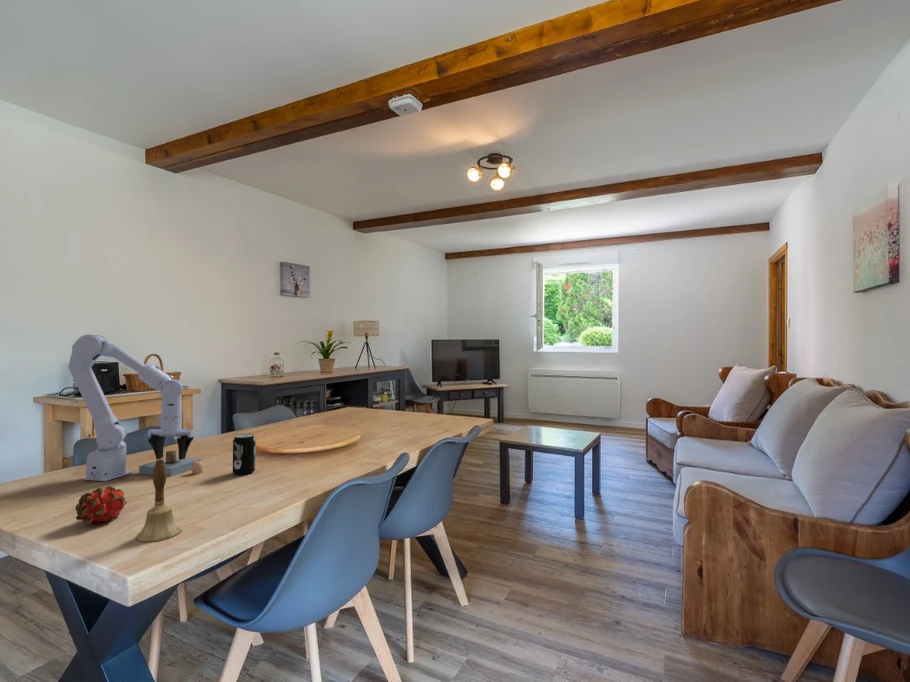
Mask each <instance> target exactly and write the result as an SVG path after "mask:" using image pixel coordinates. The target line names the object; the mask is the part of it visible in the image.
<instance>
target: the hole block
mask: <svg viewBox="0 0 910 682" xmlns="http://www.w3.org/2000/svg"><path fill="white" fill-rule="evenodd" d="M162 459H163V461H164V464H165V467H166V470H167V477H173V476H177V475H180V474H183V473H185V472H186V473H187V472H189V471H192V470H191V469H192V462H196V461H202V459H201V458H192V457H185V459H182V460H179V456H178V457H177V456H176V463H174V464H166V457H165V458H162ZM155 464H156V460H155V461H152V462H148V463H145V464H141V465H139V466H138V469H139V470H138V474H139V475H149V476H153V469H154V466H155Z"/></svg>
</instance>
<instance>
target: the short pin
mask: <svg viewBox="0 0 910 682" xmlns="http://www.w3.org/2000/svg"><path fill="white" fill-rule="evenodd" d="M200 473H201V474H203V461H202V460H201V461H196V462H192V470H191V474H192V475H194V474H196V475H201V474H200Z"/></svg>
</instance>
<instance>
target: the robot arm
mask: <svg viewBox="0 0 910 682" xmlns="http://www.w3.org/2000/svg"><path fill="white" fill-rule="evenodd" d="M100 357H106V358H108V357H109V358H113V359H115V360H117V361H118V362H120V363H122V364H123V365H125V366H127V367H128V368H130V369H131V370H133V371H135V372H136V373H137V374H138V379H139V380H140V381H142V382H143V383H145V384H146V385H147V386H149V387H151V388H152V389H154V390H155V391H159V393H160V395H161V396H162V397H161V398H162V399H161V400H162V401H161V406H160V407H161V408H160V412H161V413H160V418H161V419H160V429H149V430H147V437H149V438H148V439H147V441H148V443H149V444H150V446H151V448H152V449H153V452H154V455H155V458H156V459H155V460H159V459H164V458H163V457H164V447H165V441H166V437H170V438H171V437H172V438H173V437H175V438H176V437H177V438H176V443H177V446H178V447H177V448H178V457H179V460H182V459H185V458H187V457H186V456H187V453H188V450H189V447H190V445H191V443H192V442H193V440H194V437H195V435H196V433H195V432H196V430H193V429H183V428H182V427H183V426H182V425H183V423H182V421H183V420H182V416H183V402H182V400H183V397H182V392H183V389H184V387H183V384H182V383H181V382H180V380H179V379H177V378H174V375H169V374H167V373H166V372H165V371H164V370H161V368H162V367H161V366H159V365H154V363H153V364H146V363H144V362H143V361H141V360H140V359H138V358H137V357H135V356H134V355H133V354H131V353H130V352H128V351H127V350H126V349H124V348H123V347H122V346H120V345H119V344H117V343H115V342H113V341H112V340H109V339H107V338H106V337H104V336H102V335H100V334H89V333H88V334H83V335H81V336H80V337H78V338H77V339H76V341H75V342H74V343H73V344H72V346H71V355H70V359H69V362H68V370H69V373H70V374H71V376H72V378H73V381H74V382H75V385H76V387H77V389H78V391H79V393H80V395H81V397H82V399H83V401H84V403H85V405H86V408H87V409H88V411H89V413H90V416H91V418H92V420H93V424H94V425H93V427H94V431H95V433H96V437H95V442H96V444H97V447H96V449H95V451H91V452H89V453H88V455H87V456H86V460H85V461H86V463H85V464H86V466H85V467H86V468H85V469H86V470H85V476H86V477H83V480H86V481H96V482H107V481H110V480H113V479H118V478H120V477H125V476H127V475H130V474H131V475H132V474H133V473H134V471H133V470H131V471H130V470H127V443H126V442H125V441H124V440H125V439H126V438H127V435H128V429H127V428H126V426H125V425H123V424H122V423H121V422H120V421H119V419H118V417H117V416H116V415H115V414H114V412H113V410H112V408H111V407H110V404H109V402H108V400H107V398H106V396H105V394H104V391H103V389H102V388H101V385H100V383H99V381H98V380H97V377H96V375H95V373H94V370H93V368H92V367H93V366H94V364H95V363H96V361H97V360H98V359H99V358H100Z"/></svg>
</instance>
